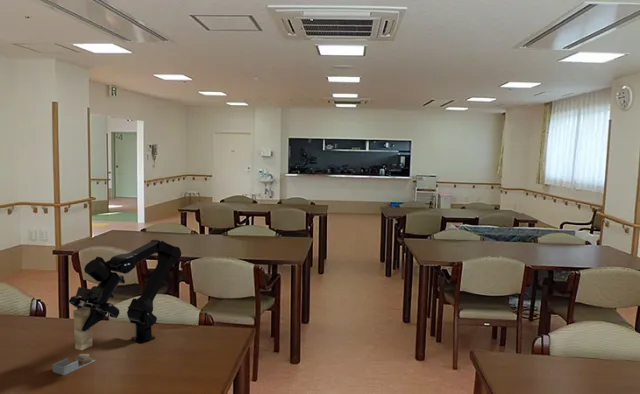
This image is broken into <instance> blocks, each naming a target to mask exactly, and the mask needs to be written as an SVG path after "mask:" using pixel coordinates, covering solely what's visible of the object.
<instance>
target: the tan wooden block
mask: <svg viewBox="0 0 640 394" xmlns="http://www.w3.org/2000/svg"><path fill="white" fill-rule="evenodd" d="M72 312H73V329H74V331H73V332H74V349H76V350H80V351H83V350H85V349H88V348H90V347H92V346H93V331H92V330H93V328H92V327H93V326H92V327H90V328H89V329H88V330H86V331H85V332H84V331H82V328H83V326H84V324H85V323H86V321H87V319H88V317H89V316H90V308H88V307H82V308H79V309H77V308H76V309H74V310H73V311H72Z"/></svg>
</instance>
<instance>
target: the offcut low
mask: <svg viewBox="0 0 640 394" xmlns="http://www.w3.org/2000/svg"><path fill="white" fill-rule="evenodd" d="M92 359H93V358H92V357H90V356H89V358H88V359H86V360H85V361H78V365H81V366H83V365H85V364H87V363H89V364H91V363H90V362H92ZM75 361H76V359H73V362H75ZM92 363H93V362H92ZM87 365H88V364H87ZM85 366H86V365H85ZM83 367H84V366H83Z"/></svg>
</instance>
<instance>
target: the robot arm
mask: <svg viewBox="0 0 640 394" xmlns="http://www.w3.org/2000/svg"><path fill="white" fill-rule="evenodd" d="M154 254H157V256H156V257H157V264H156V266H155V268H154V269H153V272H152V273H151V275H150V278H149V280H148V281H147V283H146V285H145V287H144V289H143V291H142V293H141V295H140V296H139V297H138V298H132V299H131V301H130V303H129V306H128V307H127V312H126V314H127V319H128V320H129V323H130V324H134V325H135V326H134V330H135V331H134V332H135V333H134V334H135V335H134V336H132V337H131V340H133V341H134V342H135V341H136V342H137V343H139V344H142V343H145V342H149V341H151V340H155V339H156V336H154V335H153V333H152V331H153V329H152V326H154V325H155V324H156V323H157V320H158V317H157V316H156V315H155V314H154V313H153V311H154V299H155V298H156V296H157V294H158V292H159V290H160V288H161V286H162V284H163V282H164V280H165V278H166V276H167V274H168V272H169V270H170V269H171V268H172V267H174V266H175V265H176V264H177V263H178V262H179V260H180V258H181V257H182V251H181V248H180V247H179V246H176V245H175V246H174V245H172V244H170V243H167V242H166V241H163V240H161V239H151V240H150V242H147V243H146V244H144V245H142V246H140V247H137V248H135V249H134V250H131V252H130V251H129V252H127V253H121V254H120V253H119V254H117V255H114V256H112V257H111V258H110V259H109V260H107V261H105V260H104V258H103V257H101V256H96V257H95V259H92V260H90V261H89V262H88V263H86V264H85V266H84V268H83V269H84V273H86V275H88V276H89V277H90V278H92V279H93V280H94V281H96V282H98V284H97V286H96V285H94V286H92V287H91V288H86V287H82V286H78V288H77V291H76V293H75V294H76V295H73V296H71V297H70V299H69V300H68V301H67V302H68V304H70V305H71V306H73V307H74V308H76V310H77V309H79V308H82V307H88V308H90V316H89V317H88V319H87V321H86V323H85V324H84V326H83V328H82V331H84V332H85V331H86V330H88V329H89V328H90V327H94V325H96V324H98V323H99V322H101V321H103V320H104V319H107V317H108V316H107V315H108V314H109V317H110V318H112V319H117V318H118V317H119V315H120V309H119V308H118V307H116V306H115V305H114V304H113V303H111V302H110V303H109V302H108V301H110V299H113V298H114V297H115V295H114V291H115V290H116V289H117V287H118V285H119V284H123V285H124V284H125V283H126V281H125V280H126V279H125V276H124V275H120V274H129V273H130V272H131V271H132V270H133V269H135V268H136V266H137V264H138V263H140V262H142V261H143V260H145V259H147V258H149V257H150V256H152V255H154ZM118 273H119V274H118Z"/></svg>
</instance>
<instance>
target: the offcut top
mask: <svg viewBox="0 0 640 394" xmlns="http://www.w3.org/2000/svg"><path fill="white" fill-rule="evenodd" d="M89 357H90V354H89V353H80V354H78V355H77V356H75V359H76V361H85V360H86V359H88V358H89Z"/></svg>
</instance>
